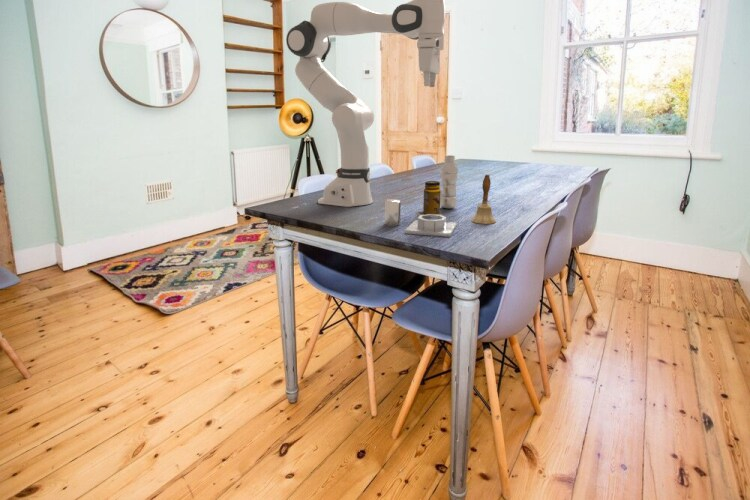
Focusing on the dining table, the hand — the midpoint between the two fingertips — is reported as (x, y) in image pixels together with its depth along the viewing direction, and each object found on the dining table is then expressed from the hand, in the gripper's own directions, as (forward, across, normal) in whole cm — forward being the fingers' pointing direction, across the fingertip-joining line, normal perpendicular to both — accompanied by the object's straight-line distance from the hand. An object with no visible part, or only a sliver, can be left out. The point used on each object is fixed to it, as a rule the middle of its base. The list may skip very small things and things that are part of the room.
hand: (429, 86), depth 163 cm
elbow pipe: (+44, +27, -6) cm, 52 cm away
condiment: (+45, +9, +3) cm, 46 cm away
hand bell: (+44, +14, +23) cm, 52 cm away
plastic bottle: (+45, -3, +8) cm, 45 cm away
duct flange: (+44, +30, +8) cm, 54 cm away
